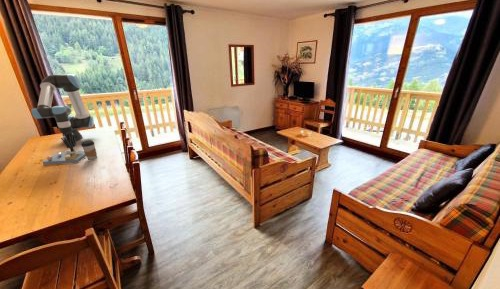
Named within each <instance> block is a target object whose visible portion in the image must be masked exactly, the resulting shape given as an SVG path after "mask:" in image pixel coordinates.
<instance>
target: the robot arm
mask: <svg viewBox="0 0 500 289" xmlns="http://www.w3.org/2000/svg"><path fill="white" fill-rule="evenodd" d="M81 86H82V85H81V82H80V80H79V78H78V76H77V75H75V74H74V73H73V74H72V73H71V74H69V73H67V74H63V73H62V74H61V73H60V74H50V75H47V76H46V77H44V78H43V79H42V80H41V82H40V84H39V88H40V93H39V98H38V102H37V107H35V108H31V111H30V112H31V113H30V114H31V115H32V117H33V118H34V119H48V118H54V119H55V121H56V124H57V127H58V131H59V133H60V134H62V137H61V138H60V139H61V141H62V142H63V143H64V145H65V147H66V148H67V149H69V150H71V153H77V152H78V151H77V150H76V147H77V141H80V140H81V139H83V137H84V136H83V134H82V133H81V132H80V130H78V129H84V128H85V129H86V128H87V129H89V128H92V127H94V126H95V125H94V124H95V123H94V120H95V119H94V115H91V114H90V113H89V112H88V111H87V109H86V106H85V104H84V102H83V99H82V96H81V93H80V88H81ZM59 89H62V90H63V91H64V92H65V93H66V94H67V96H68V99H69V101H70V104H71V106H72V108H73V109H74V112H75V115H73V114H72V112H73V111H72V108H71V107H70V106H69V105H55V106H52V103H53V98H54V92H55V91H56V90H59ZM71 114H72V115H71Z"/></svg>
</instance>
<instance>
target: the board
mask: <svg viewBox="0 0 500 289" xmlns="http://www.w3.org/2000/svg"><path fill="white" fill-rule="evenodd" d="M76 152H77V153H78V155H79V157H77V158H76V159H75V160H65V156H66V155H68V154H69V153H66V151H65V152H63V151H62V152H60V153H62V156H60V157H58V156H57V153H58V152H56V153H55V154H53V155H50V156H51V157H52V158H53V159H52V160H47V158H45V159H44V160H43V161H42V164H43V166H45V165H46V166H47V165H61V164H76V163H79V162H81V161H82V160H83V159H85V158H87V157H86V155H85V153H84V150H82V151H76ZM70 153H71V152H70Z"/></svg>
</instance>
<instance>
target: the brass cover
mask: <svg viewBox="0 0 500 289" xmlns="http://www.w3.org/2000/svg"><path fill="white" fill-rule="evenodd" d="M77 157H79V155H78V153H69V154H68V155H66V156H65V160H75V159H76V158H77Z"/></svg>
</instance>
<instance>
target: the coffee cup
mask: <svg viewBox="0 0 500 289" xmlns="http://www.w3.org/2000/svg"><path fill="white" fill-rule="evenodd" d="M80 145H81V147H82V149H83V150H82V151H84V153H85V155H86V157H85V158H86V159H87V161H89V162H91V161H95V160H97V159H98V155H97V154H98V153H97V150H96V145H95V142H94V141H93V140H91V139H89V140H84V141H81V144H80Z"/></svg>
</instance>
